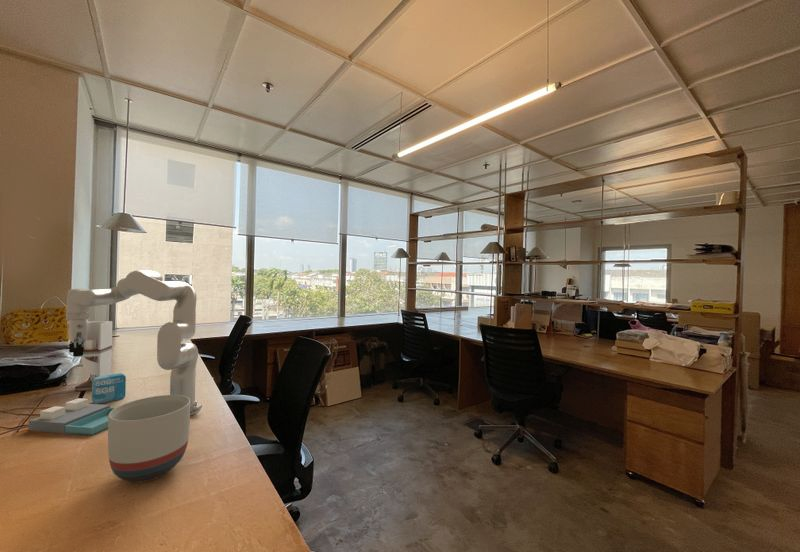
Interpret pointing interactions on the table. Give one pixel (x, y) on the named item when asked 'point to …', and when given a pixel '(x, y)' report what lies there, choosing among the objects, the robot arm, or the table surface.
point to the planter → (148, 436)
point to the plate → (64, 419)
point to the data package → (108, 388)
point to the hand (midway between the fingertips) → (75, 354)
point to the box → (90, 424)
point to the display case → (97, 352)
